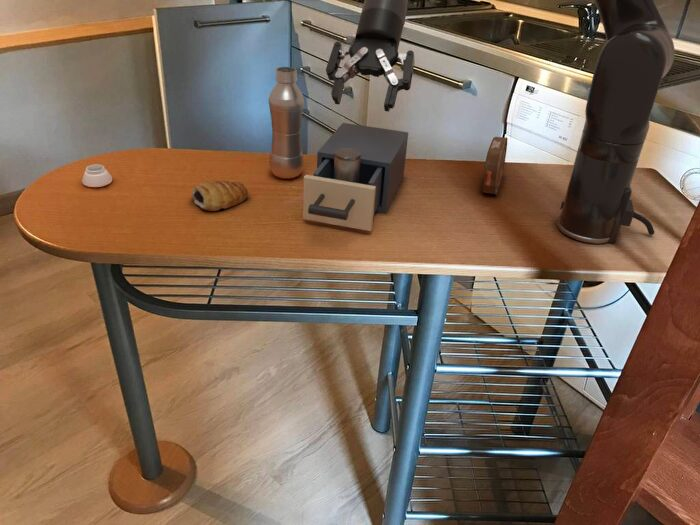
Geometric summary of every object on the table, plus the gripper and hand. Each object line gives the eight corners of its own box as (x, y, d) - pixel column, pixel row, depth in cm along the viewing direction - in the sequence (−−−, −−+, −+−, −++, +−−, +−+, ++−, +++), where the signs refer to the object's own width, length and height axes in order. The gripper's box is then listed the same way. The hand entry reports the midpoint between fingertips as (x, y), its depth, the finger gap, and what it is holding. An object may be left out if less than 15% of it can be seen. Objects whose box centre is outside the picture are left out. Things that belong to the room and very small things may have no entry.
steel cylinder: (360, 202, 106) (364, 149, 101) (353, 213, 102) (357, 159, 97) (336, 198, 107) (338, 145, 102) (328, 208, 103) (331, 155, 98)
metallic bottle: (306, 169, 121) (307, 66, 110) (300, 184, 115) (301, 76, 105) (273, 166, 121) (272, 63, 111) (266, 181, 116) (263, 73, 105)
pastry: (236, 188, 112) (235, 168, 110) (256, 202, 108) (255, 182, 106) (188, 200, 107) (186, 180, 105) (207, 216, 103) (205, 195, 101)
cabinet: (385, 213, 107) (390, 163, 102) (315, 201, 110) (317, 151, 105) (403, 178, 120) (408, 132, 115) (340, 167, 123) (342, 122, 118)
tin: (494, 202, 113) (502, 159, 109) (477, 198, 114) (485, 156, 110) (504, 171, 126) (512, 132, 121) (488, 169, 126) (496, 129, 122)
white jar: (78, 181, 111) (88, 191, 108) (75, 165, 110) (85, 175, 107) (106, 175, 114) (116, 185, 111) (104, 160, 113) (114, 169, 109)
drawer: (361, 248, 95) (364, 205, 91) (290, 235, 97) (290, 192, 93) (390, 194, 112) (393, 155, 108) (328, 184, 114) (330, 145, 110)
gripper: (338, 1, 103) (315, 88, 100) (422, 10, 100) (402, 100, 97) (345, 28, 110) (324, 110, 107) (424, 37, 108) (405, 122, 104)
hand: (361, 105), depth 102 cm, fingers open, 8 cm apart
